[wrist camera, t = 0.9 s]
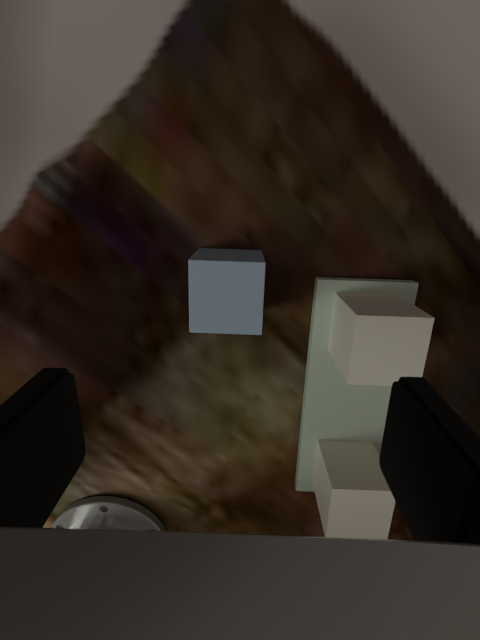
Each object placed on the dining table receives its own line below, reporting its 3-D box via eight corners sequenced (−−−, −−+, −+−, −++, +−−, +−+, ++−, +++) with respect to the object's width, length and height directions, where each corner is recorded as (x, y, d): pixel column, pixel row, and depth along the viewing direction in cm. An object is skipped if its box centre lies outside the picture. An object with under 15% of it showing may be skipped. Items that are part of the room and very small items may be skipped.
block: (258, 309, 31) (261, 334, 25) (199, 307, 31) (189, 332, 25) (261, 250, 29) (265, 262, 24) (199, 247, 29) (188, 259, 24)
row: (374, 486, 36) (403, 550, 30) (294, 483, 36) (305, 546, 30) (413, 280, 30) (461, 303, 23) (315, 276, 30) (335, 299, 23)
